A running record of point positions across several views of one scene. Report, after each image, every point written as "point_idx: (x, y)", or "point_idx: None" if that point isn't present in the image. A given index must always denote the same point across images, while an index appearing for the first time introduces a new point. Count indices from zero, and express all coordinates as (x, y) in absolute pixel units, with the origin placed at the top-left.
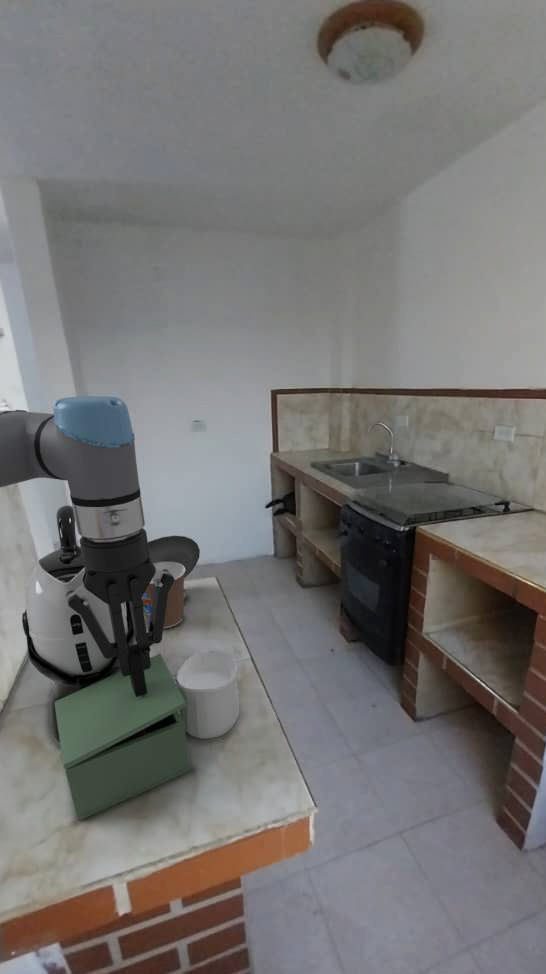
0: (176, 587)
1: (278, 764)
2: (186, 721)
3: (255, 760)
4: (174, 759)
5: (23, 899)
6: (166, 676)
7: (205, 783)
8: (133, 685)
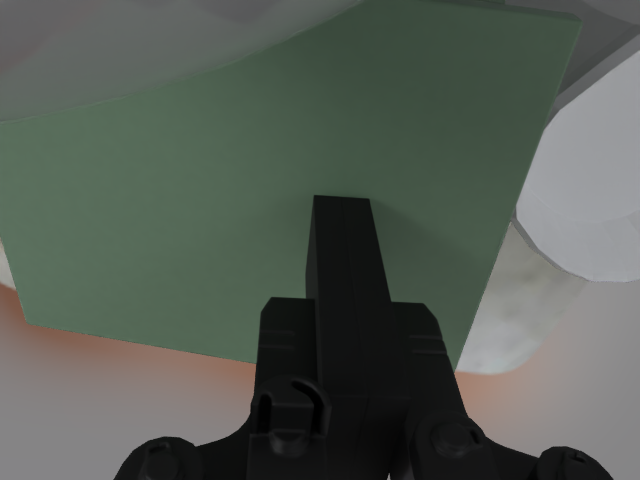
0: None
1: (550, 295)
2: None
3: (523, 263)
4: None
5: (8, 283)
6: (477, 240)
7: None
8: (307, 291)
